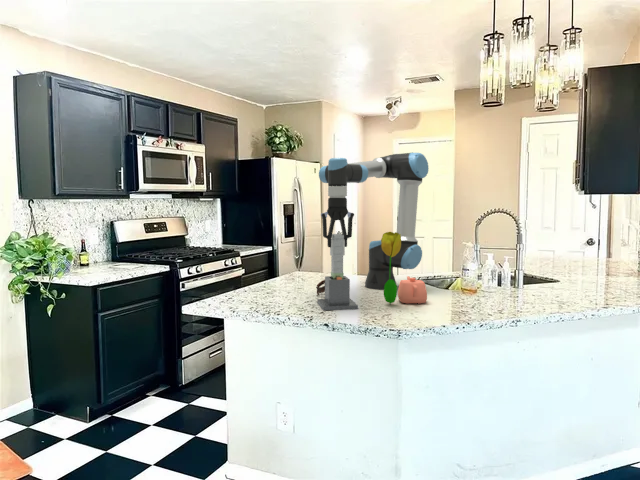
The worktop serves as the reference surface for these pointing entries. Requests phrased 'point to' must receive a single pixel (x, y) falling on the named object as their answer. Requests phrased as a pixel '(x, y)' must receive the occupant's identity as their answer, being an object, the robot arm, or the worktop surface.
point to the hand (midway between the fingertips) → (337, 255)
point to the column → (337, 256)
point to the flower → (390, 248)
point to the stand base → (337, 295)
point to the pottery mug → (320, 289)
